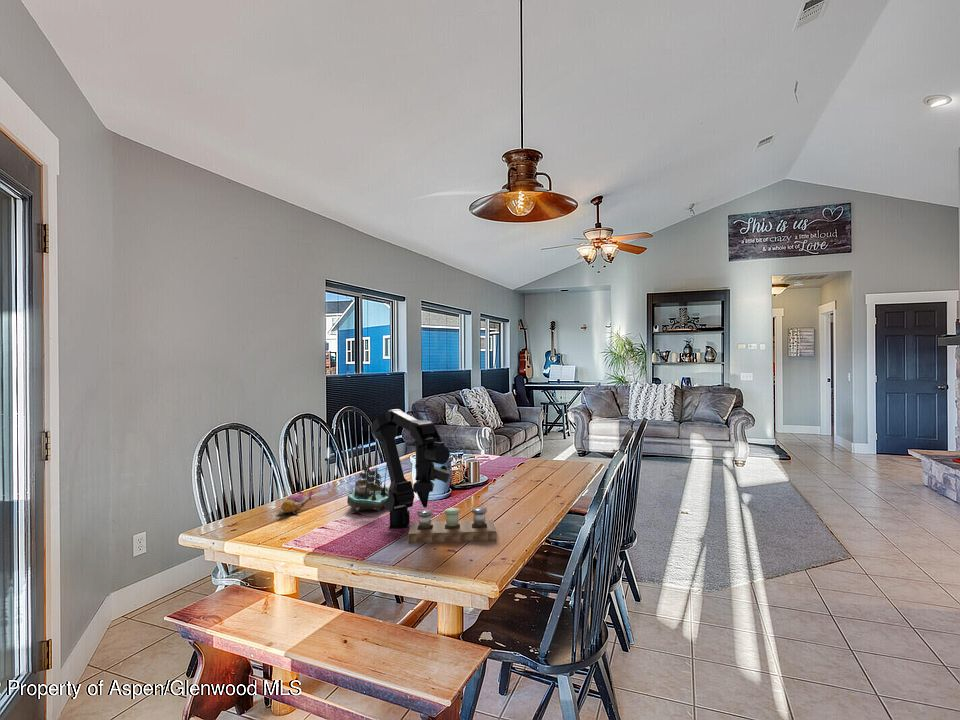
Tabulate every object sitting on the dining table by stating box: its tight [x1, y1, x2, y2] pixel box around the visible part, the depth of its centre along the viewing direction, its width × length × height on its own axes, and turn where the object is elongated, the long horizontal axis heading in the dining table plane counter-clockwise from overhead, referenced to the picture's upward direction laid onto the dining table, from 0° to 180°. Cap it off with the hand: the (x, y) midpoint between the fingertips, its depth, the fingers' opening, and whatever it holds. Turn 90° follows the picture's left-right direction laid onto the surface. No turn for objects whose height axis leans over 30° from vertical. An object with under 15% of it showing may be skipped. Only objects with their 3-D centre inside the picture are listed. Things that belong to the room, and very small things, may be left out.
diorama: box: [346, 463, 389, 512], centre depth 213 cm, size 19×25×19 cm
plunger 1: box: [416, 509, 433, 528], centre depth 175 cm, size 5×5×5 cm
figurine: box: [275, 490, 314, 517], centre depth 212 cm, size 12×7×30 cm
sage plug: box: [444, 507, 461, 526], centre depth 176 cm, size 5×5×5 cm
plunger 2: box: [471, 506, 488, 525], centre depth 176 cm, size 5×5×5 cm
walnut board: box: [407, 519, 497, 544], centre depth 176 cm, size 28×12×3 cm, turn 92°
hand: (425, 507), depth 175 cm, fingers closed
